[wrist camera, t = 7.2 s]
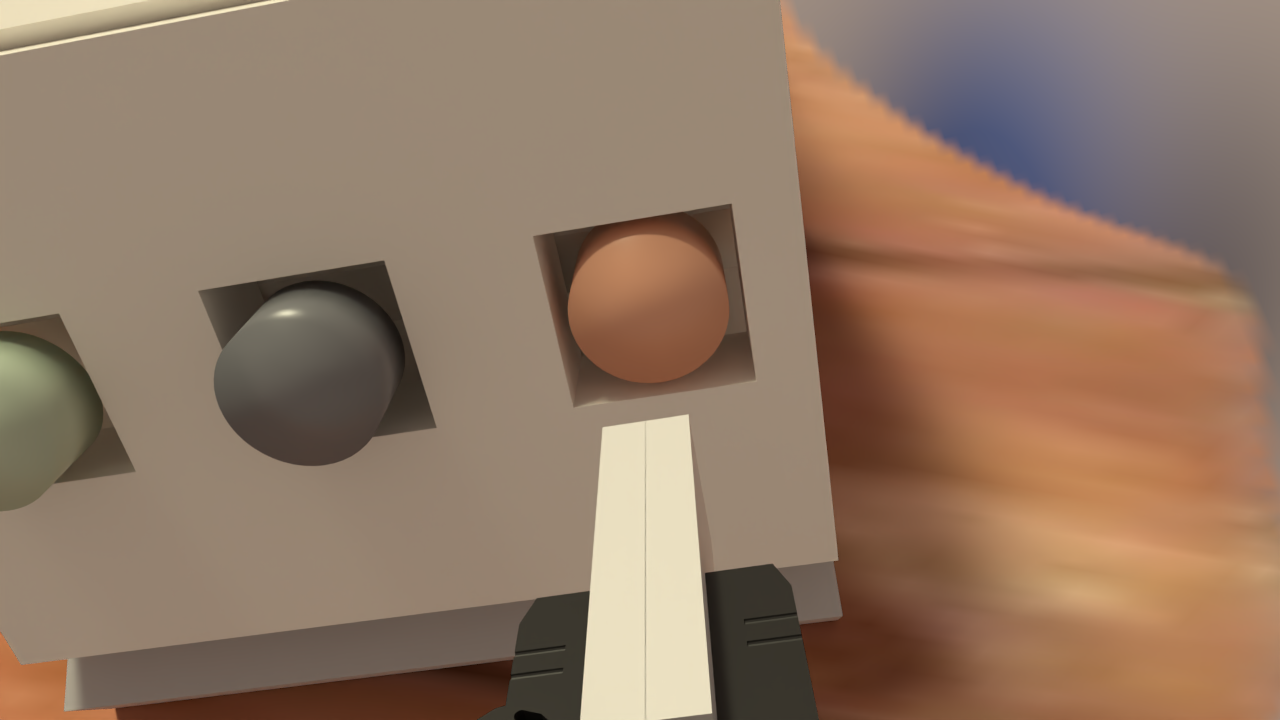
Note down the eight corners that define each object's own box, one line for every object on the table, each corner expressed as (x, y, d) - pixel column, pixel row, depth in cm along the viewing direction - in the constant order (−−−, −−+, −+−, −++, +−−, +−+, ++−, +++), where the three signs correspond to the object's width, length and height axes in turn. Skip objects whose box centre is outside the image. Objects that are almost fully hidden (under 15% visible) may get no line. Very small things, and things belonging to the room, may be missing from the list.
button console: (114, 708, 34) (-465, 742, 18) (139, 259, 39) (-288, -15, 23) (837, 619, 31) (899, 570, 16) (758, 156, 37) (744, -226, 21)
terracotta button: (596, 410, 27) (562, 360, 22) (581, 260, 28) (546, 187, 24) (741, 389, 26) (734, 334, 22) (718, 238, 28) (707, 159, 23)
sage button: (-13, 529, 27) (-163, 503, 22) (3, 374, 28) (-135, 321, 24) (123, 510, 26) (-3, 479, 22) (132, 353, 28) (15, 296, 23)
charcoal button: (281, 488, 26) (183, 452, 22) (282, 330, 27) (190, 267, 23) (425, 467, 26) (355, 427, 21) (418, 308, 27) (351, 240, 23)
